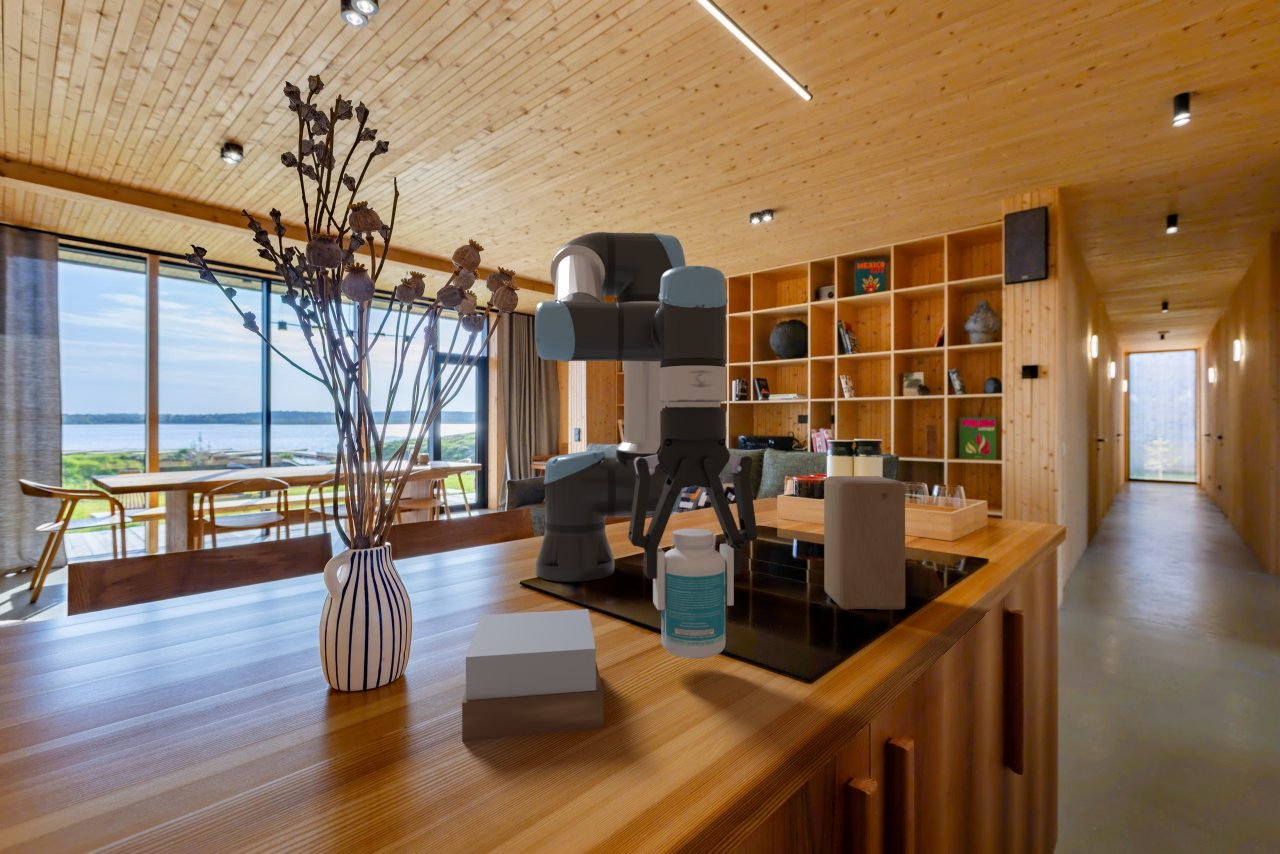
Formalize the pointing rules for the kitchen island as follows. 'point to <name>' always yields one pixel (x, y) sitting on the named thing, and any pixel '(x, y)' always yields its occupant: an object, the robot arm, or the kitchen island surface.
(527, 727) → the tower base
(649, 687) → the kitchen island surface
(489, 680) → the tower top
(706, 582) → the pill bottle
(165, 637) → the kitchen island surface
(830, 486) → the wooden block
